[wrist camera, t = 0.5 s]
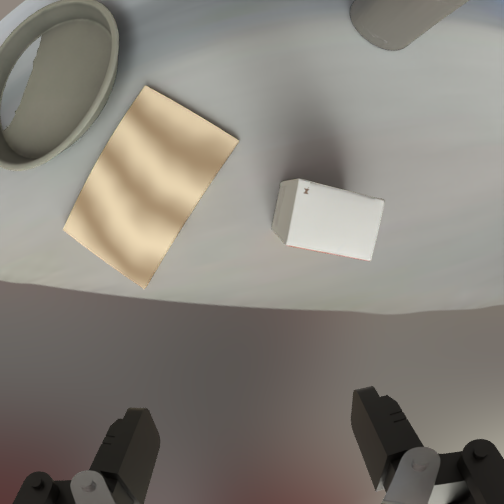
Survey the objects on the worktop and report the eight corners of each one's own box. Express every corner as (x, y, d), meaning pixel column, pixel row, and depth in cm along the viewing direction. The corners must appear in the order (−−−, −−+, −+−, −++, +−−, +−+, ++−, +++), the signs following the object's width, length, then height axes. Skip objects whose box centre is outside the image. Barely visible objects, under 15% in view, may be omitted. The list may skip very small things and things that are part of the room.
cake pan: (111, -16, 27) (100, -31, 23) (154, 114, 32) (142, 105, 27) (-12, 71, 28) (-28, 65, 24) (10, 202, 33) (-10, 204, 29)
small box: (270, 229, 35) (282, 246, 24) (280, 180, 34) (296, 176, 23) (336, 242, 35) (372, 263, 25) (347, 195, 34) (386, 199, 24)
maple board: (147, 87, 31) (145, 85, 30) (238, 142, 33) (238, 140, 32) (66, 228, 34) (62, 229, 33) (146, 286, 36) (144, 289, 35)
